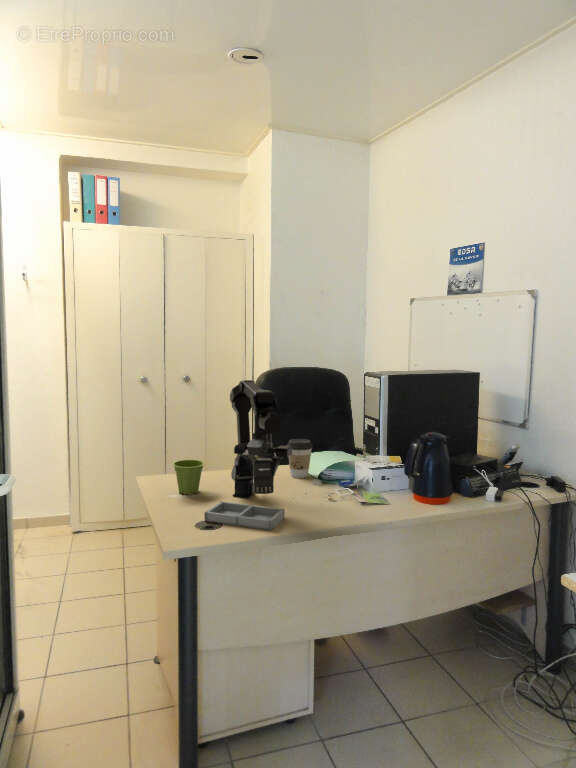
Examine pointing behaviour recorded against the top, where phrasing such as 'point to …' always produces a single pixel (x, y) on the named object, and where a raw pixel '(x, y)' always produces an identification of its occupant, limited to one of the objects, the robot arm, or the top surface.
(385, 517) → the top surface
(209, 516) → the divided tray
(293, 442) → the coffee cup
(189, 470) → the plant pot
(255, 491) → the battery charger
